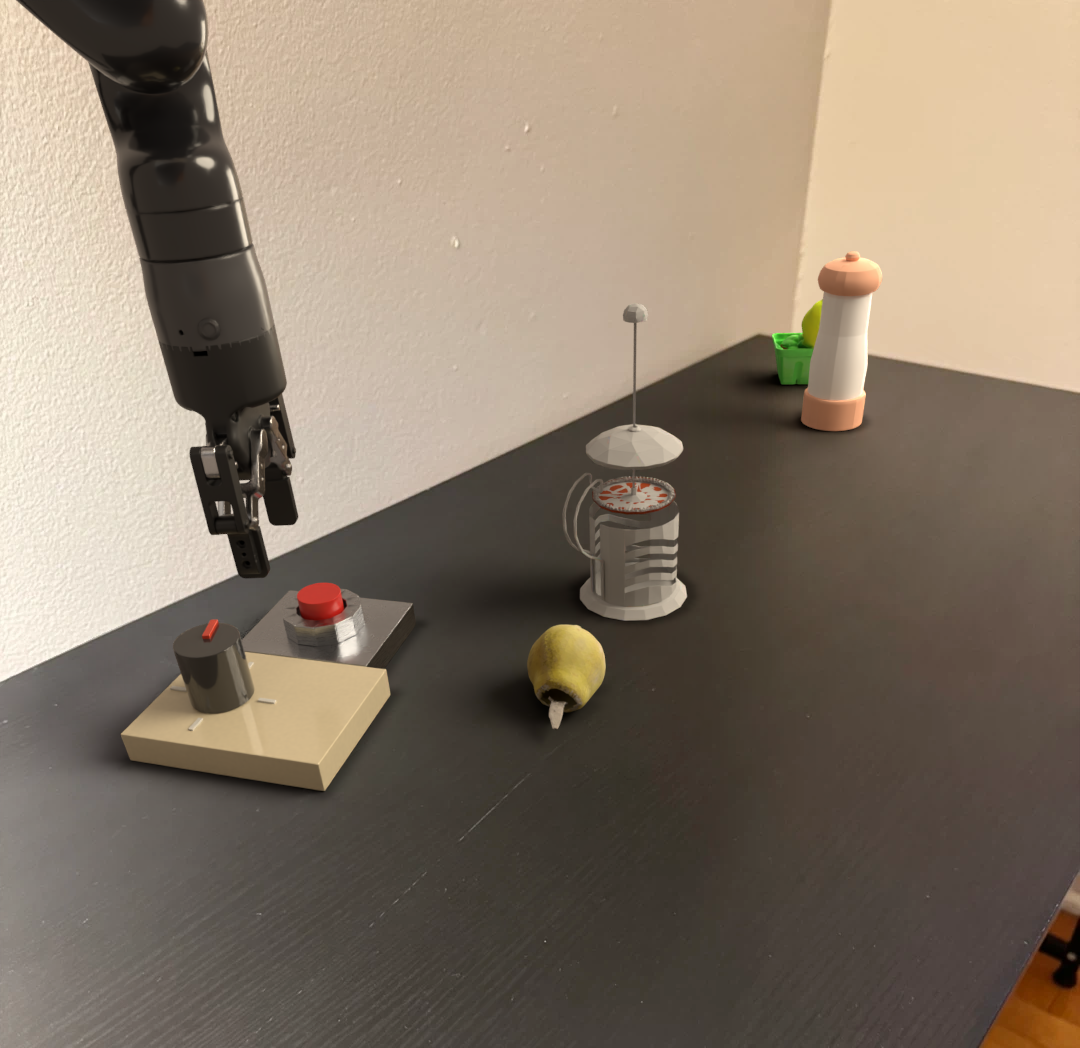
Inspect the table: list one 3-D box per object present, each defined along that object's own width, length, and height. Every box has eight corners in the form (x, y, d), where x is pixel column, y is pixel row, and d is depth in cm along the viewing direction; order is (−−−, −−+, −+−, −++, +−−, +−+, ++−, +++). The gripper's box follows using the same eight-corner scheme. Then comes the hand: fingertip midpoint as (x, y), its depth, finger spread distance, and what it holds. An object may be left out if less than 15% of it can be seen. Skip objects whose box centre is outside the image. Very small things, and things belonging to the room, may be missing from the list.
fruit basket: (851, 369, 136) (863, 282, 129) (861, 390, 129) (875, 299, 122) (767, 370, 137) (775, 284, 130) (773, 391, 130) (782, 302, 123)
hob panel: (130, 760, 73) (119, 732, 71) (214, 671, 82) (206, 645, 80) (324, 791, 69) (317, 762, 67) (391, 694, 78) (386, 667, 76)
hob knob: (245, 712, 73) (228, 652, 69) (182, 714, 73) (162, 655, 70) (261, 676, 77) (245, 617, 73) (200, 678, 77) (182, 620, 74)
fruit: (514, 739, 73) (524, 650, 80) (592, 756, 74) (595, 666, 80) (532, 685, 69) (541, 596, 76) (614, 703, 69) (616, 614, 76)
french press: (709, 598, 88) (728, 304, 73) (602, 639, 83) (599, 334, 68) (644, 557, 95) (649, 280, 80) (542, 592, 90) (526, 307, 75)
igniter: (238, 671, 82) (227, 630, 80) (294, 611, 90) (285, 572, 87) (370, 688, 79) (362, 646, 77) (416, 624, 87) (410, 584, 84)
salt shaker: (872, 427, 118) (899, 255, 107) (816, 434, 117) (837, 262, 106) (845, 407, 124) (868, 242, 113) (791, 414, 123) (808, 248, 112)
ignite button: (293, 620, 81) (289, 601, 80) (312, 598, 84) (308, 580, 83) (332, 624, 80) (328, 606, 79) (351, 602, 83) (347, 584, 82)
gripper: (194, 300, 70) (248, 510, 80) (118, 361, 59) (191, 597, 68) (297, 294, 70) (339, 506, 79) (240, 354, 58) (297, 594, 68)
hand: (270, 548), depth 74 cm, fingers open, 8 cm apart
